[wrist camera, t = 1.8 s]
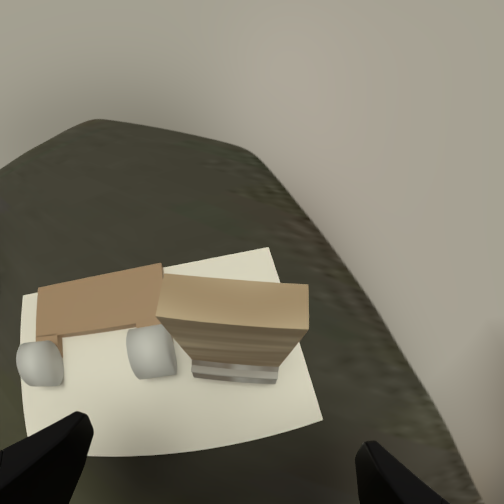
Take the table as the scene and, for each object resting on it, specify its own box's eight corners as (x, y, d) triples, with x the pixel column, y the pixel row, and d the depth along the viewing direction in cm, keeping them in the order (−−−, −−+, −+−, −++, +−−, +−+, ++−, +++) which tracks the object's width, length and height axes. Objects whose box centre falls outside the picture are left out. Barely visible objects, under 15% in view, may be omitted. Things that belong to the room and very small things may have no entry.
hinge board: (319, 419, 18) (338, 420, 14) (37, 449, 14) (4, 449, 10) (267, 253, 24) (272, 221, 21) (28, 300, 21) (2, 278, 17)
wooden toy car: (272, 386, 18) (308, 356, 9) (197, 380, 18) (150, 342, 9) (274, 339, 20) (307, 262, 10) (203, 333, 20) (169, 251, 10)
